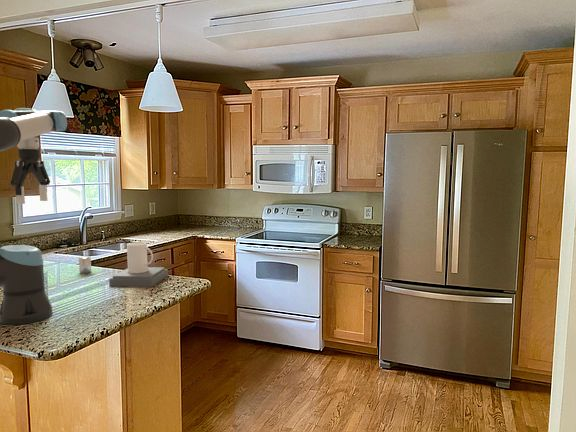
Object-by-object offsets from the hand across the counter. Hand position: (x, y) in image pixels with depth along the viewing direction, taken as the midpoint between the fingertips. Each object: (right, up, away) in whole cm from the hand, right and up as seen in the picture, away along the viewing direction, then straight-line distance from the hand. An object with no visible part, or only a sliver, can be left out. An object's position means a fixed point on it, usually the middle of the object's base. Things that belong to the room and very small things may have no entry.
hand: (32, 202), depth 179 cm
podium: (+39, -33, +12) cm, 53 cm away
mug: (+39, -29, +12) cm, 51 cm away
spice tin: (+8, -32, +28) cm, 43 cm away
